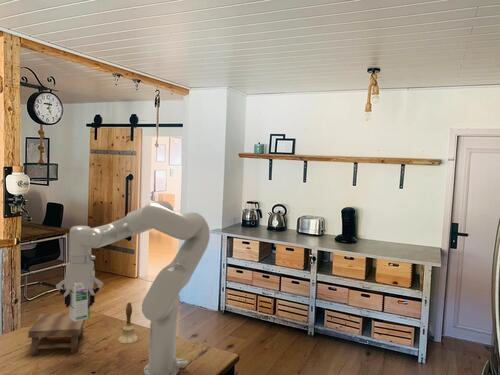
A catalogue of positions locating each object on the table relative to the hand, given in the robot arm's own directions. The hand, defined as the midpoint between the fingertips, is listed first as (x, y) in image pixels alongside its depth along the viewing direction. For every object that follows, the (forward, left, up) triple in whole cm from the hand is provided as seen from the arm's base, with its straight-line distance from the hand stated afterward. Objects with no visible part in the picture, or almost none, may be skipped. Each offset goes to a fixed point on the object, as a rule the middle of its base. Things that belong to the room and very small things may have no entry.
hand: (79, 305), depth 149 cm
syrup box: (0, 0, -5) cm, 5 cm away
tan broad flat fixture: (+9, -14, -21) cm, 27 cm away
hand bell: (-18, -16, -21) cm, 32 cm away
